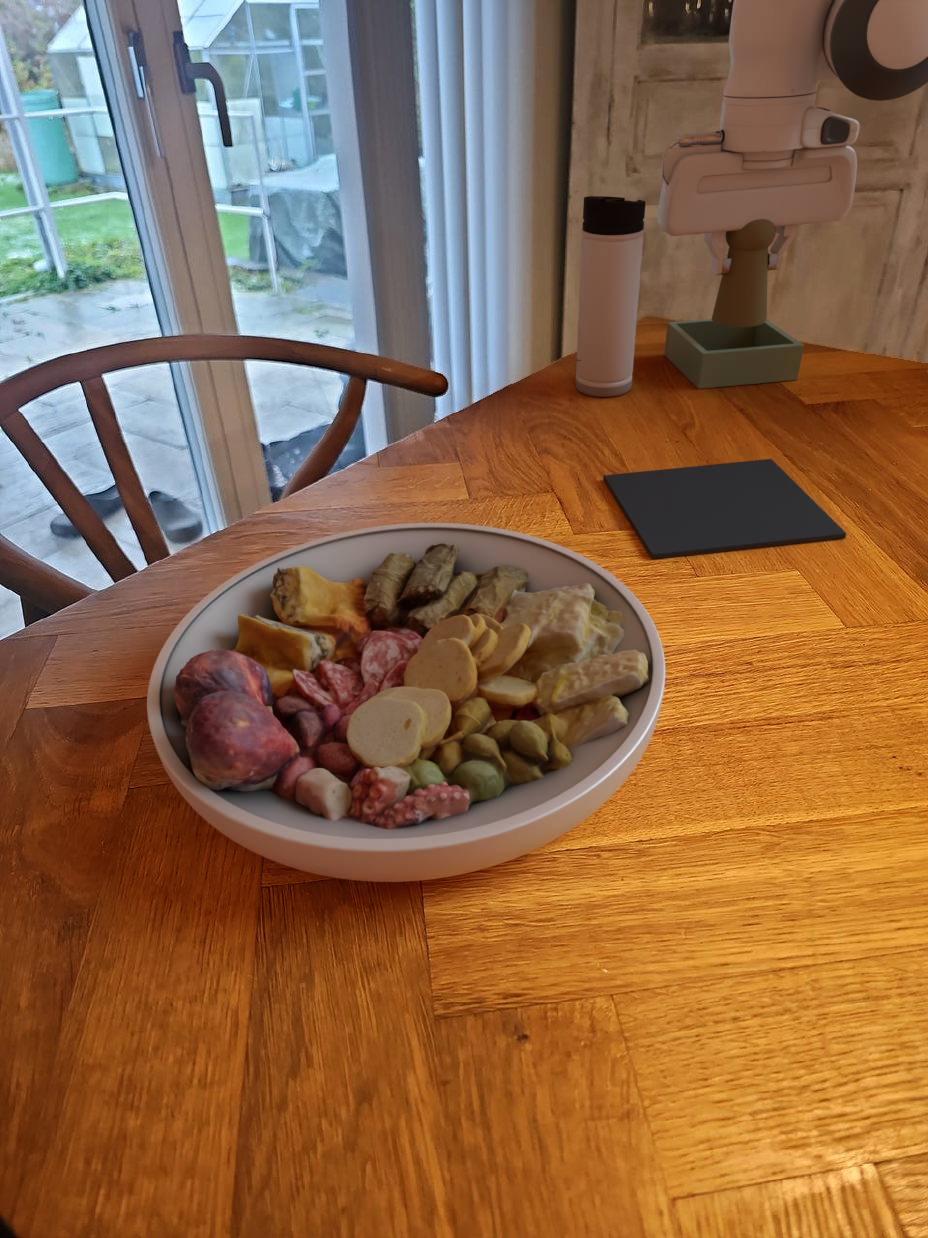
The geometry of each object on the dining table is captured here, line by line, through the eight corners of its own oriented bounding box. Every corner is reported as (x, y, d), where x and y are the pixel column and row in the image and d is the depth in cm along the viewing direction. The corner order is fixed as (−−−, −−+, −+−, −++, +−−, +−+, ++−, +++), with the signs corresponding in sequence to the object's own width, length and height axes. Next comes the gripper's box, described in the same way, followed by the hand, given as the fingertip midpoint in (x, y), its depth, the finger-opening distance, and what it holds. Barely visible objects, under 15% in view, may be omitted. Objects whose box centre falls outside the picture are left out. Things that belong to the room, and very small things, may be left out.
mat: (770, 463, 79) (771, 458, 79) (845, 538, 68) (847, 533, 67) (603, 480, 78) (603, 474, 77) (651, 559, 66) (652, 554, 66)
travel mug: (562, 389, 96) (567, 194, 84) (599, 373, 99) (610, 184, 88) (605, 403, 92) (617, 201, 80) (642, 386, 96) (659, 190, 84)
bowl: (428, 537, 70) (421, 449, 66) (754, 701, 53) (776, 596, 48) (81, 716, 54) (40, 616, 49) (385, 1044, 36) (365, 935, 31)
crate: (754, 347, 105) (760, 314, 102) (797, 380, 96) (804, 344, 93) (664, 355, 104) (667, 321, 101) (698, 389, 94) (702, 353, 92)
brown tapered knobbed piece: (701, 321, 96) (712, 216, 90) (728, 307, 100) (740, 205, 93) (750, 330, 93) (766, 221, 86) (776, 316, 96) (793, 210, 90)
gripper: (675, 139, 82) (663, 287, 90) (876, 122, 83) (847, 269, 92) (654, 131, 87) (645, 273, 95) (844, 116, 89) (819, 256, 97)
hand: (745, 271), depth 93 cm, fingers closed on brown tapered knobbed piece, 4 cm apart
